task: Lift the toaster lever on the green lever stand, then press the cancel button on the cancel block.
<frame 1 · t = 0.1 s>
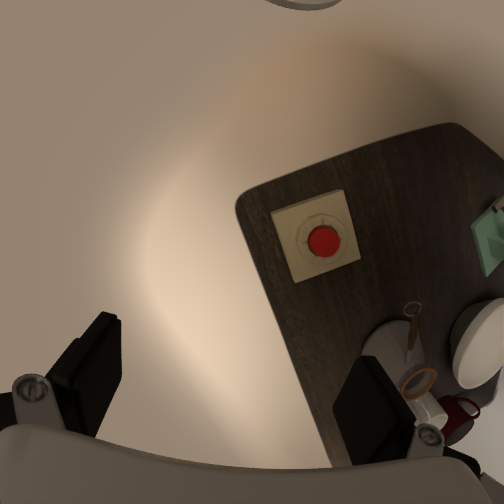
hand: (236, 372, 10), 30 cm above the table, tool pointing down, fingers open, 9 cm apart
cancel button: (324, 241, 36), point 4 cm above the table, slide at 0.1 cm
mug: (444, 402, 54), on the table
cancel block: (315, 234, 40), on the table
bowl: (467, 325, 48), on the table
coffee pot: (379, 320, 45), on the table
green lever stand: (491, 237, 42), on the table
cup: (410, 394, 51), on the table
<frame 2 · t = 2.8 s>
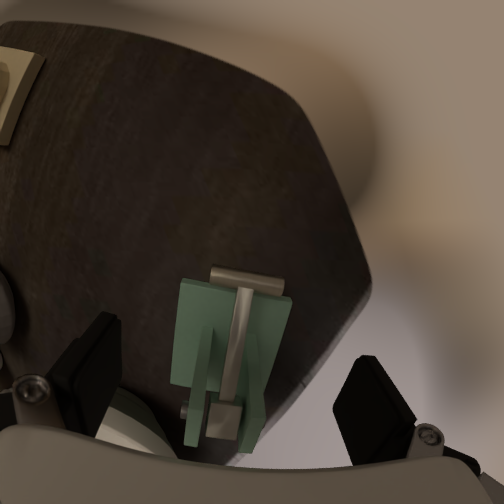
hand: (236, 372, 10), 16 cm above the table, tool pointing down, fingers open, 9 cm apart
toaster lever: (233, 356, 19), point 8 cm above the table, hinge at -25.0°
cancel block: (2, 92, 19), on the table
bowl: (116, 410, 31), on the table
green lever stand: (225, 342, 28), on the table
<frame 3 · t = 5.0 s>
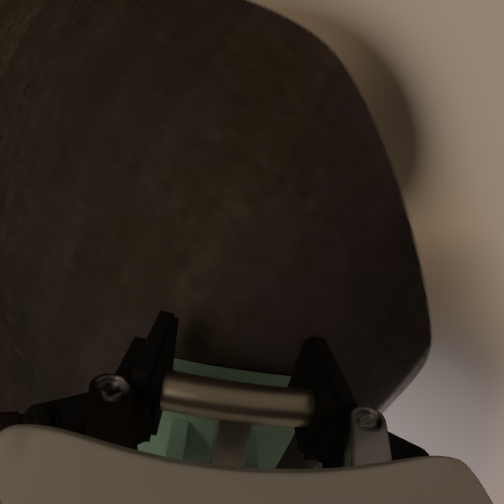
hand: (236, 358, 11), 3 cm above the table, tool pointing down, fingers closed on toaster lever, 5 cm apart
green lever stand: (210, 431, 17), on the table
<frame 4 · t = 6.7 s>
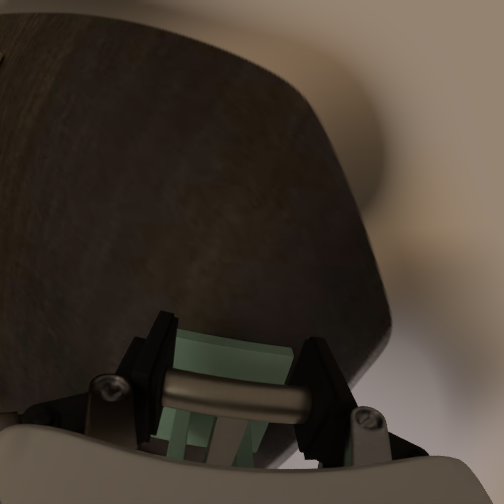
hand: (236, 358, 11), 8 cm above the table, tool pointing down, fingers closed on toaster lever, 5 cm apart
toaster lever: (215, 467, 11), point 10 cm above the table, hinge at 3.4°, touching gripper
green lever stand: (212, 396, 22), on the table
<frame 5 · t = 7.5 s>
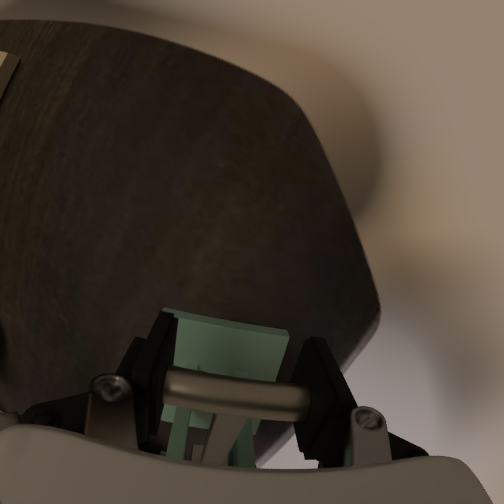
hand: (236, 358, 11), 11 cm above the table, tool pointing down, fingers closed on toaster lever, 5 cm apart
toaster lever: (216, 446, 12), point 11 cm above the table, hinge at 16.4°, touching gripper
green lever stand: (213, 377, 24), on the table
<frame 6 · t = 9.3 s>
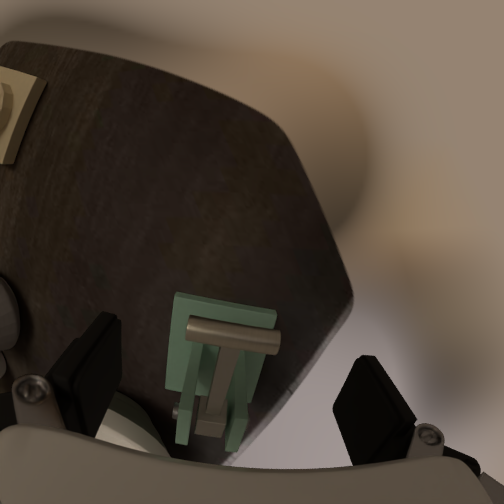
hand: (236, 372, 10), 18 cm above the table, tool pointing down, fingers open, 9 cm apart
toaster lever: (218, 387, 18), point 11 cm above the table, hinge at 15.4°
cancel block: (6, 112, 22), on the table
bowl: (115, 414, 32), on the table
coffee pot: (2, 269, 26), on the table
green lever stand: (216, 350, 30), on the table
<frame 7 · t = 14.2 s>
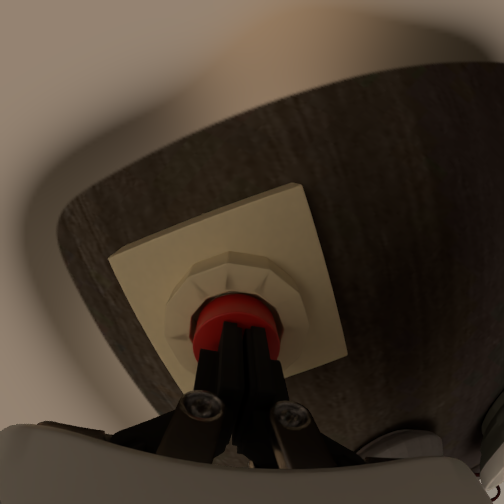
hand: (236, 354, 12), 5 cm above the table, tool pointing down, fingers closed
cancel button: (236, 339, 12), point 4 cm above the table, slide at 0.0 cm, touching gripper
cancel block: (235, 296, 17), on the table
coffee pot: (378, 429, 21), on the table
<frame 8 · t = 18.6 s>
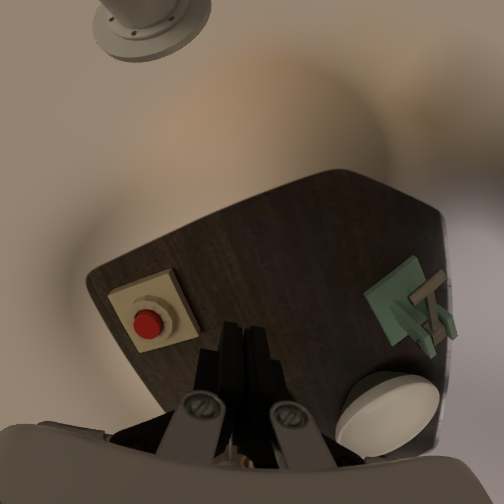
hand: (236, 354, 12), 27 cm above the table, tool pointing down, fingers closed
cancel button: (147, 324, 36), point 4 cm above the table, slide at 0.1 cm
toaster lever: (432, 313, 30), point 11 cm above the table, hinge at 15.4°
cancel block: (155, 309, 40), on the table
bowl: (372, 391, 47), on the table
green lever stand: (401, 301, 42), on the table
lollipop: (230, 423, 48), on the table
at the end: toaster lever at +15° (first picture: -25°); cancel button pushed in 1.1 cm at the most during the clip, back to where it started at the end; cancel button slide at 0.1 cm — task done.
